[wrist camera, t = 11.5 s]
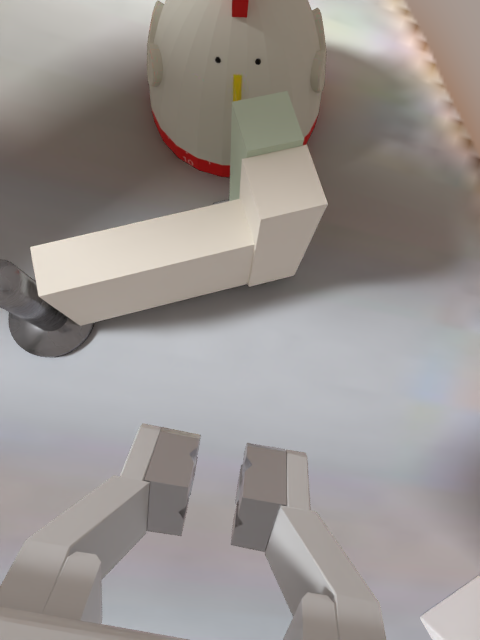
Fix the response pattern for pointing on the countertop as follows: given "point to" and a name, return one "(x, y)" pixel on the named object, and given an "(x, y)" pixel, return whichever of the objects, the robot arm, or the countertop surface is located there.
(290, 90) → the kitchen timer
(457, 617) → the milk
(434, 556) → the countertop surface
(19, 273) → the hinge post
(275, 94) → the latch post
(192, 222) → the cream l-shaped block
